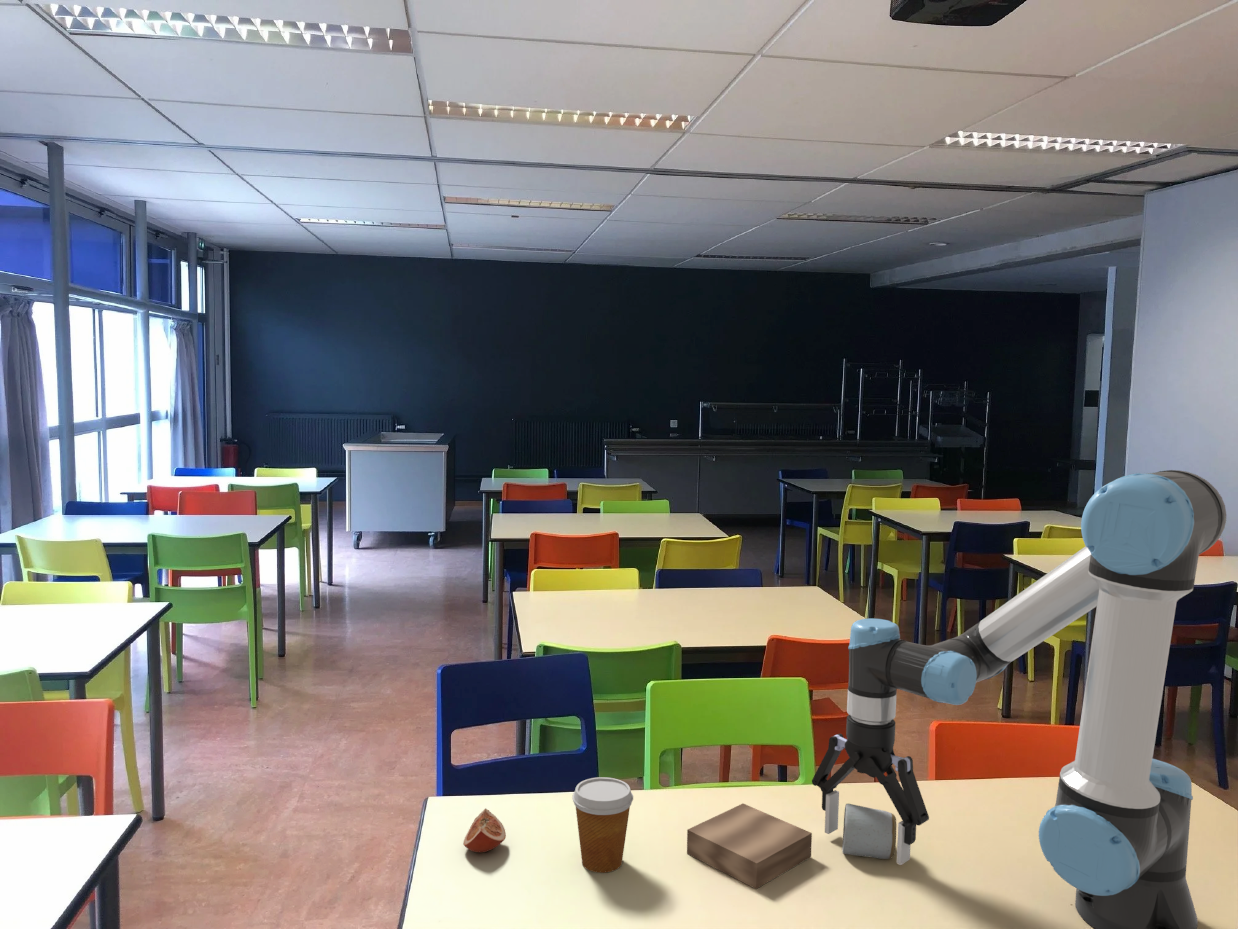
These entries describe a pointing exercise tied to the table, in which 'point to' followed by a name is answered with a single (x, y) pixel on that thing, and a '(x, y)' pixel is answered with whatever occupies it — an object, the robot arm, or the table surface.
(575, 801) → the disposable coffee cup
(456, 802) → the table surface
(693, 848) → the block
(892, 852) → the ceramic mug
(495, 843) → the fruit slice
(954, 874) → the table surface
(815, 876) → the table surface
